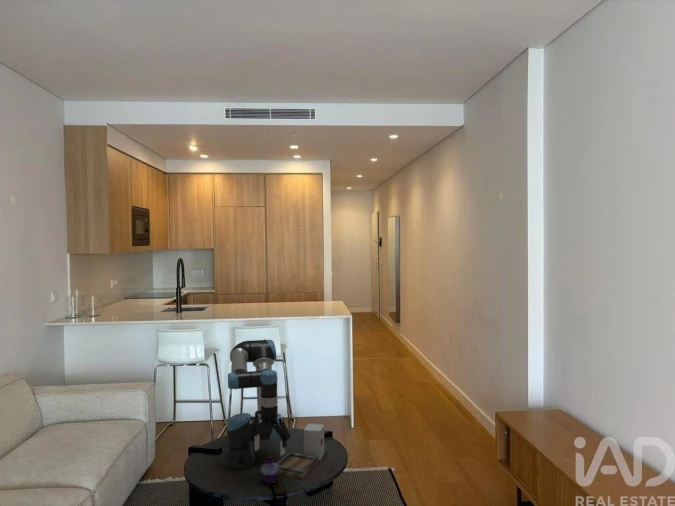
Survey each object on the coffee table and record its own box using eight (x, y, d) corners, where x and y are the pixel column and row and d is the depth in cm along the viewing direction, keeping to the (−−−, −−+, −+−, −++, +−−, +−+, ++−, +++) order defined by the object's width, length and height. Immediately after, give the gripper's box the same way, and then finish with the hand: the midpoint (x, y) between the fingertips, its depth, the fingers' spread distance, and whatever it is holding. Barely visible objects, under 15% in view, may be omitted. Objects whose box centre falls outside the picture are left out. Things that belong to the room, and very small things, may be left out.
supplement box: (320, 460, 231) (320, 431, 231) (303, 459, 233) (303, 429, 233) (324, 452, 240) (324, 424, 240) (308, 451, 242) (307, 423, 242)
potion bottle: (278, 475, 216) (277, 450, 216) (281, 484, 208) (280, 458, 208) (259, 478, 214) (259, 452, 214) (261, 487, 206) (261, 460, 206)
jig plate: (270, 473, 219) (270, 466, 219) (289, 457, 236) (289, 451, 236) (302, 479, 212) (302, 473, 212) (319, 463, 229) (319, 456, 229)
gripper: (241, 404, 212) (242, 450, 212) (289, 411, 202) (289, 459, 202) (250, 399, 219) (251, 444, 219) (297, 406, 209) (297, 453, 209)
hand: (269, 452), depth 211 cm, fingers open, 13 cm apart
